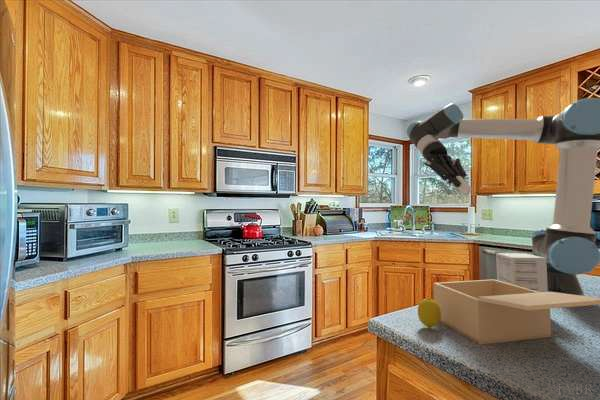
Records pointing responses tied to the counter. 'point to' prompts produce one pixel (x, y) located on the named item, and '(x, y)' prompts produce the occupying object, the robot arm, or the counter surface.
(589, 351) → the counter surface
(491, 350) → the counter surface
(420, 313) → the lemon
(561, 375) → the counter surface
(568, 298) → the carton flap
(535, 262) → the supplement box
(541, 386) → the counter surface
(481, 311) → the carton
